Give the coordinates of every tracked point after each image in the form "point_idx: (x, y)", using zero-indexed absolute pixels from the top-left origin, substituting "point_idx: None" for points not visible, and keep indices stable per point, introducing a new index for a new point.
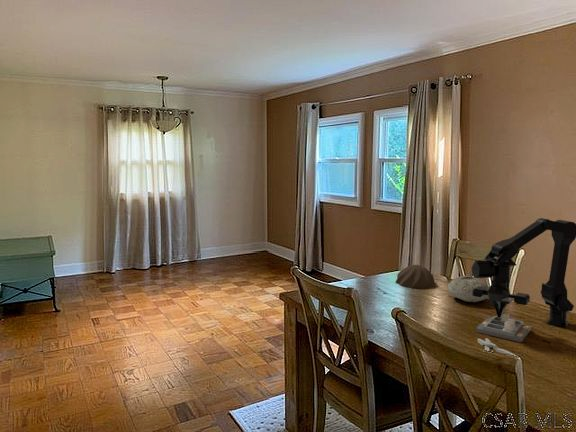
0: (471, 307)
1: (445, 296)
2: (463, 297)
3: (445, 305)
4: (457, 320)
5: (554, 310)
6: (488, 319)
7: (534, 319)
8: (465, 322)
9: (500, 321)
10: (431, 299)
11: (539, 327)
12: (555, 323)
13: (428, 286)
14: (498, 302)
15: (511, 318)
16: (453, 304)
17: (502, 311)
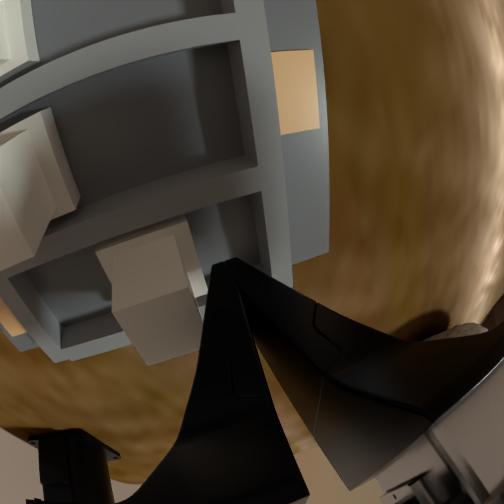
0: (407, 322)
1: (465, 316)
2: (451, 336)
3: (479, 252)
4: (446, 96)
5: (65, 497)
6: (309, 216)
7: (146, 429)
8: (412, 91)
9: (166, 198)
10: (499, 261)
11: (51, 388)
12: (50, 440)
13: (485, 324)
14: (335, 428)
15: (6, 260)
16: (457, 286)
17: (205, 334)
